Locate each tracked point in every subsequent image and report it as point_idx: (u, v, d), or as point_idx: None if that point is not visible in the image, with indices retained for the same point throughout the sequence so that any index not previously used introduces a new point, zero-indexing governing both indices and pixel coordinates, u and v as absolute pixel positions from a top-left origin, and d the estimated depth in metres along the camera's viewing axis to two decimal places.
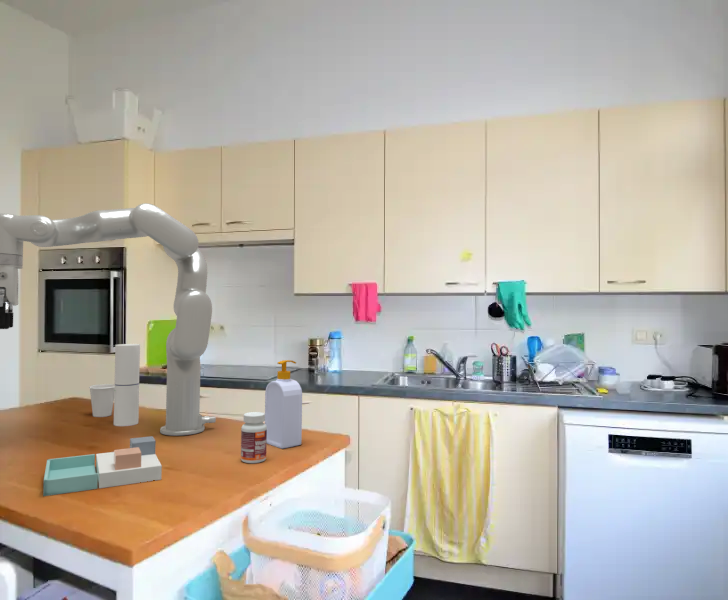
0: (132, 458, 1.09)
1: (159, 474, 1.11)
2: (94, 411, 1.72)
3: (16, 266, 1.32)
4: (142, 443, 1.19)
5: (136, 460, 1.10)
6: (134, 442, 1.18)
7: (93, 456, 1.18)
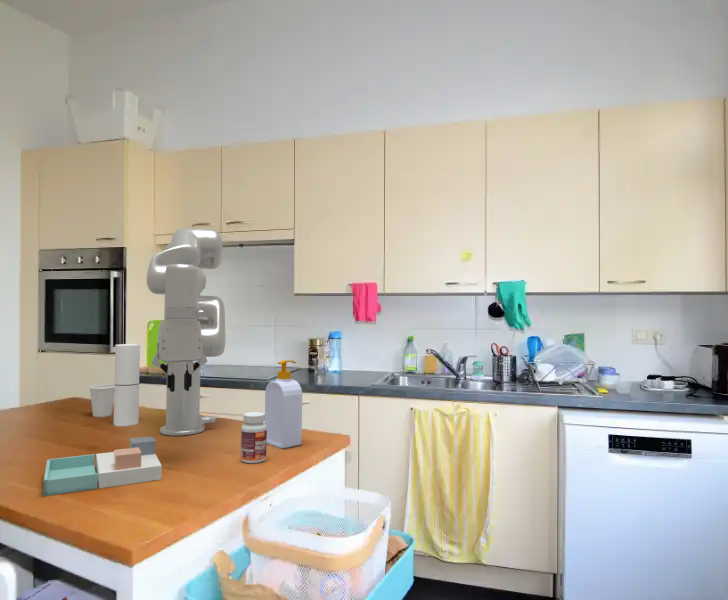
0: (132, 458, 1.09)
1: (159, 474, 1.11)
2: (94, 411, 1.72)
3: None
4: (142, 443, 1.19)
5: (136, 460, 1.10)
6: (134, 442, 1.18)
7: (93, 456, 1.18)
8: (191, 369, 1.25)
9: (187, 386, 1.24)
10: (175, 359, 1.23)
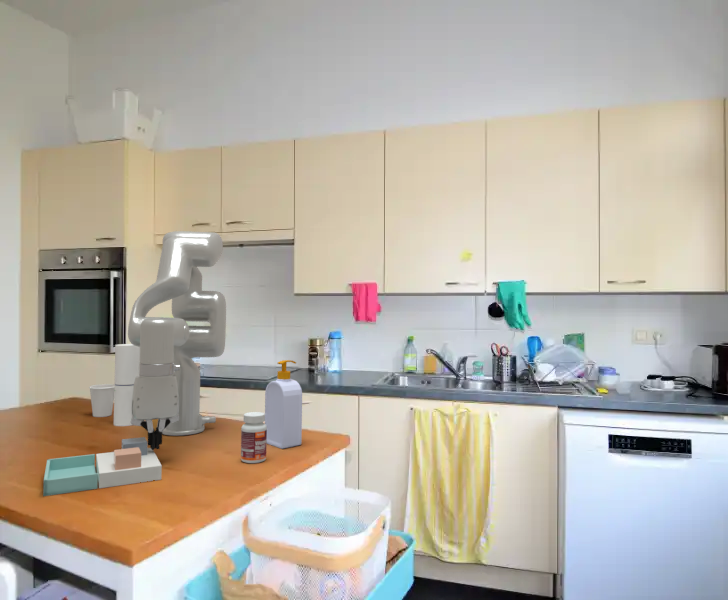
0: (132, 458, 1.09)
1: (159, 474, 1.11)
2: (94, 411, 1.72)
3: None
4: (134, 444, 1.18)
5: (136, 460, 1.10)
6: (126, 443, 1.18)
7: (93, 456, 1.18)
8: (162, 426, 1.22)
9: (157, 444, 1.21)
10: (150, 417, 1.20)
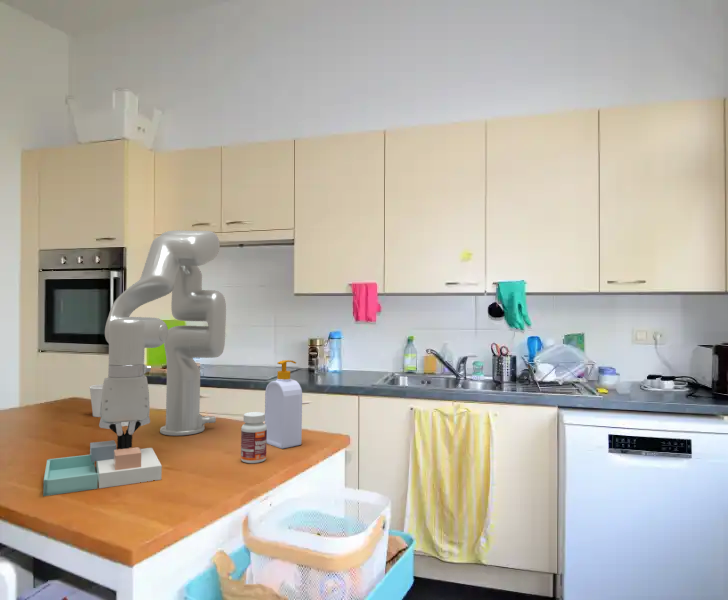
0: (132, 458, 1.09)
1: (159, 474, 1.11)
2: (94, 411, 1.72)
3: None
4: (102, 448, 1.14)
5: (136, 460, 1.10)
6: (94, 447, 1.14)
7: None
8: (132, 429, 1.19)
9: None
10: (119, 420, 1.17)
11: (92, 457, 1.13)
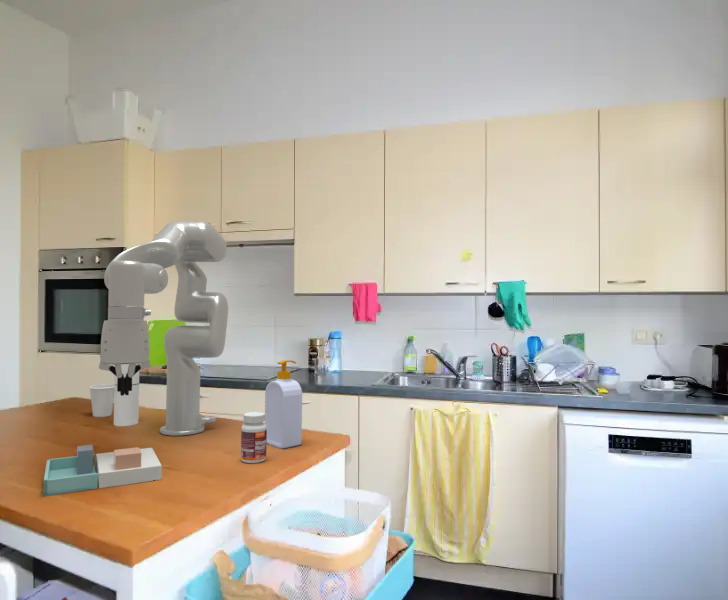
0: (132, 458, 1.09)
1: (159, 474, 1.11)
2: (94, 411, 1.72)
3: None
4: (78, 464, 1.12)
5: (136, 460, 1.10)
6: (77, 471, 1.12)
7: (93, 456, 1.18)
8: (132, 372, 1.18)
9: (126, 390, 1.17)
10: (119, 361, 1.16)
11: (88, 472, 1.13)
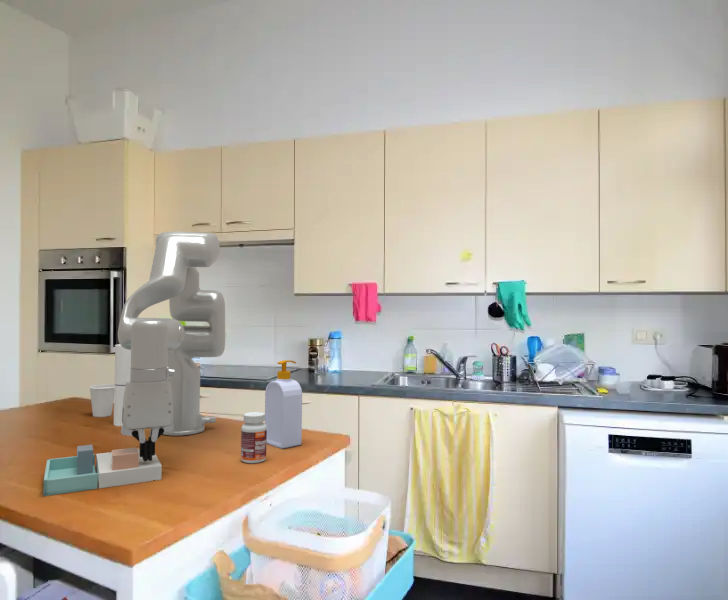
0: (129, 458, 1.09)
1: (159, 474, 1.11)
2: (94, 411, 1.72)
3: None
4: (78, 464, 1.12)
5: (133, 460, 1.09)
6: (77, 471, 1.12)
7: (93, 456, 1.18)
8: (155, 436, 1.13)
9: (150, 456, 1.12)
10: (142, 426, 1.11)
11: (88, 472, 1.13)
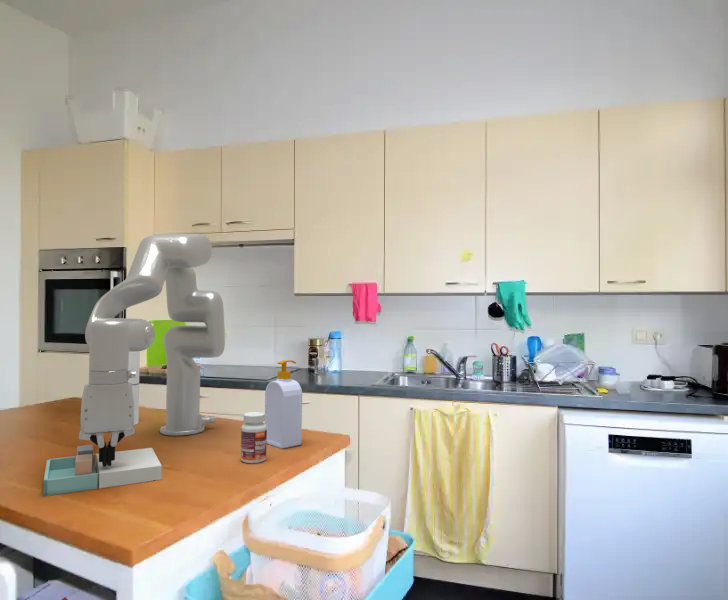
0: (80, 469, 1.05)
1: (159, 474, 1.11)
2: None
3: None
4: None
5: (83, 465, 1.05)
6: None
7: (93, 456, 1.18)
8: (115, 441, 1.09)
9: (109, 461, 1.08)
10: (100, 430, 1.07)
11: None
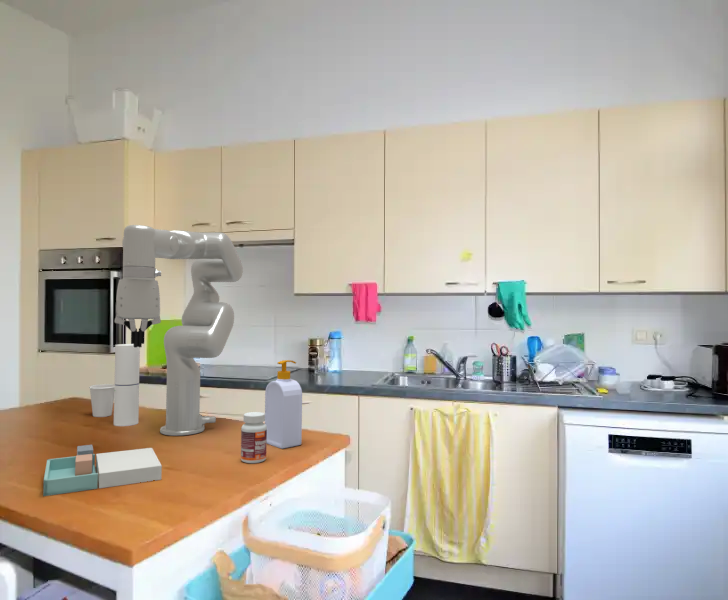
0: (80, 469, 1.05)
1: (159, 474, 1.11)
2: (94, 411, 1.72)
3: None
4: None
5: (83, 465, 1.05)
6: None
7: (93, 456, 1.18)
8: (144, 326, 1.30)
9: (139, 342, 1.29)
10: (133, 316, 1.28)
11: None
